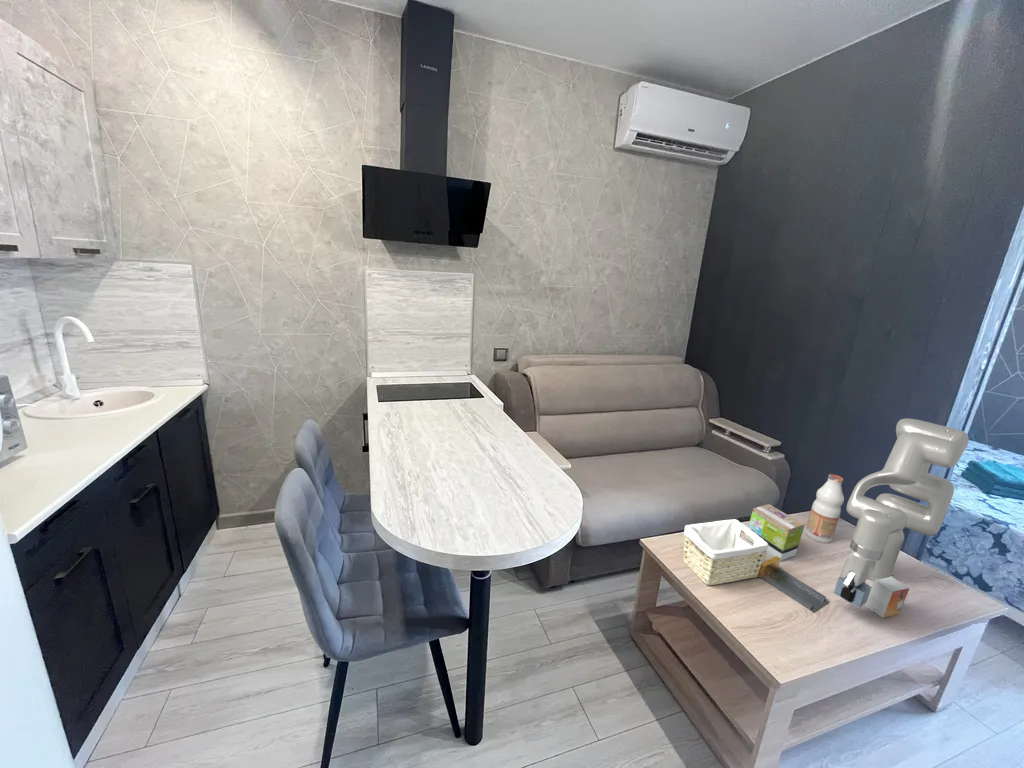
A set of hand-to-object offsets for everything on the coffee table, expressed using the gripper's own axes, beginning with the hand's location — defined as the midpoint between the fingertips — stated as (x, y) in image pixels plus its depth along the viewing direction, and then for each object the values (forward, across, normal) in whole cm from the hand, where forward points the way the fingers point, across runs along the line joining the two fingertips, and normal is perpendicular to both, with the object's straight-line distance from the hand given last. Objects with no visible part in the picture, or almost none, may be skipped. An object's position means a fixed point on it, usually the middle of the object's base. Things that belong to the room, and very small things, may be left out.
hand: (850, 595), depth 134 cm
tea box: (+8, -11, -31) cm, 34 cm away
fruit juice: (+9, -38, -26) cm, 47 cm away
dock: (+7, +5, -14) cm, 16 cm away
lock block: (+1, 0, 0) cm, 1 cm away
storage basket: (+7, +20, -32) cm, 38 cm away
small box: (+8, -13, +5) cm, 16 cm away
